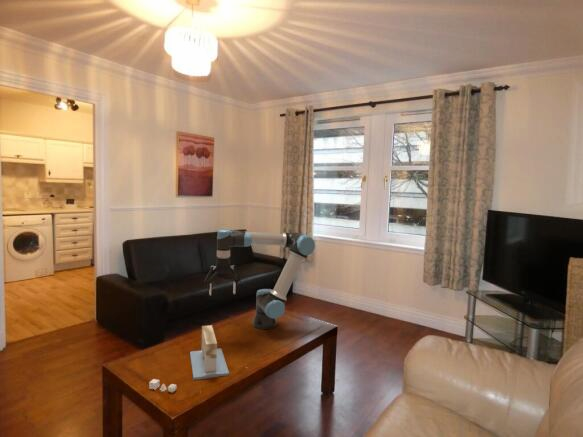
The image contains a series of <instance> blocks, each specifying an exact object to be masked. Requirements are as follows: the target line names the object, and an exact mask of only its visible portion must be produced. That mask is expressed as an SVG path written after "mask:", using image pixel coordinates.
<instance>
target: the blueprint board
mask: <svg viewBox="0 0 583 437" xmlns="http://www.w3.org/2000/svg"><path fill="white" fill-rule="evenodd" d="M189 358H190V364H191V371H192V380H193V381H197V380H204V379H205V380H206V379H212V378H220V376H221V377H226V376H230V372H229V368H228V366H227V363H226V359H225V356H224V353H223V351H222V348H220V347H219V348H217V358H211V359H206V358H205V353H204V348H203V343H202V342H201V350H193V351H190V352H189Z"/></svg>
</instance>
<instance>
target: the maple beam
mask: <svg viewBox="0 0 583 437" xmlns="http://www.w3.org/2000/svg"><path fill="white" fill-rule="evenodd" d="M202 343H203V348H204V353H205V358H206V359H211V358H217V349H218V342H217V339H216V334H215V331H214V328H213V324H211V325H202V326H201V344H202Z"/></svg>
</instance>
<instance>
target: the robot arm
mask: <svg viewBox="0 0 583 437" xmlns="http://www.w3.org/2000/svg"><path fill="white" fill-rule="evenodd" d="M251 245H261V246H262V245H265V246H280V247H282V248H285V249H286V248H287V249H289V250H288V252H289V256H288V259H286V263H285V264H284V266H283V269H282V271H281V273H280V275H279V277H278V279H277V281H276V283H275V285H274V287H273V289H271V288H262V289H258V290H257V291H256V295H255V296H256V299H255V300H256V301H255V307H256V308H255V314H254V317H253V320H252V326H253V327H254V328H255V329H260V330H271V329H274V328H275V327H276V326H277V319H280V318H281V317H282V316H283V315H284V314H285V311H286V305H285V304H286V302H287V294H288V292H289V290H290V288H291V286H292V284H293V281H294V280H295V278H296V276H297V274H298V271H299V269H300V267H301V265H302V263H303V261H305V260H307V258H308V256H309V255H311V254H312V253H314V250H315V247H316V244H315V241H314V239H313V237H311V236H309V235H308V234H305V233H301V232H282V233H272V232H259V231H246V230H244V231H243V230H237V229H232V230H230V229H219V230H218V231H217V236H216V264H215V266H214V265H211V266H210V269H209V271H208V273H207V275H206V276H205V279H204V281H203V282H204V283H205V284H207V290H208V293H209V294H208V295H209V296H212V282H213V281H214V279H215V278H216V277H217V276H219V274H220V275H222V274H223V275H226V274H228V275H229V276H230V277H231V279H233V280H234V281H233V285H232V286H233V288H232V290H233V291H232V293H233V295H235V294H236V289H237V288H238V283H239V282H241V280H242V279H241V277H240V275H239V273H238V271H237V268H236V267H237V266H236V265H235V264H233V265H231V248H233V247H235V248H236V247H239V248H241V247H250V246H251ZM214 270H216V271H214ZM230 270H233V272H234V274H232V272H231V271H230ZM213 271H214V273H213ZM212 273H213V274H212ZM234 275H235V276H236V277H235V276H234Z"/></svg>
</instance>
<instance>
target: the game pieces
mask: <svg viewBox="0 0 583 437" xmlns="http://www.w3.org/2000/svg"><path fill="white" fill-rule="evenodd" d="M148 386H149V387H148V389H149V390H153V389H154V391H156V390H157V389H158V388H159V391H160V390H161V391H160V392H165V390H166V391H167V390H168V392H169V393H174V392H175V391H176V390H177V384H175V383H171V384H169V386H167V387H166V384H165V383H162V385H161V387H160V379H156V378H153V379H152V380H150V381H149V383H148Z"/></svg>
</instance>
